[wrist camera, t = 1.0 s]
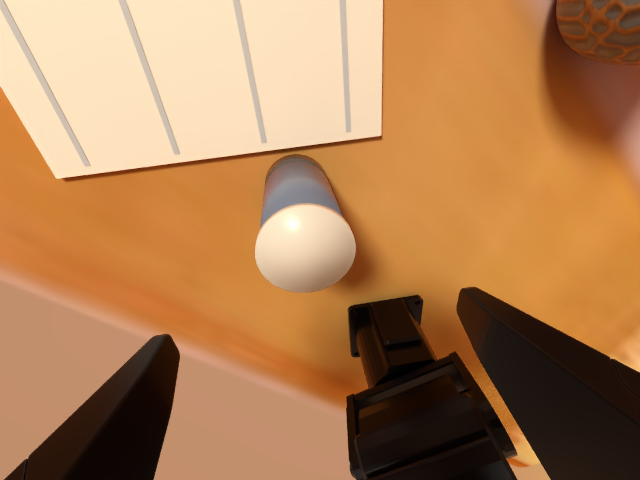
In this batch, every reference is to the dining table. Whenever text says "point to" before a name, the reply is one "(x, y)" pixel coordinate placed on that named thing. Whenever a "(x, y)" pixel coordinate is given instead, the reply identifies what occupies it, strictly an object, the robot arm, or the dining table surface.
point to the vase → (601, 29)
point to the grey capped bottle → (302, 228)
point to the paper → (188, 77)
